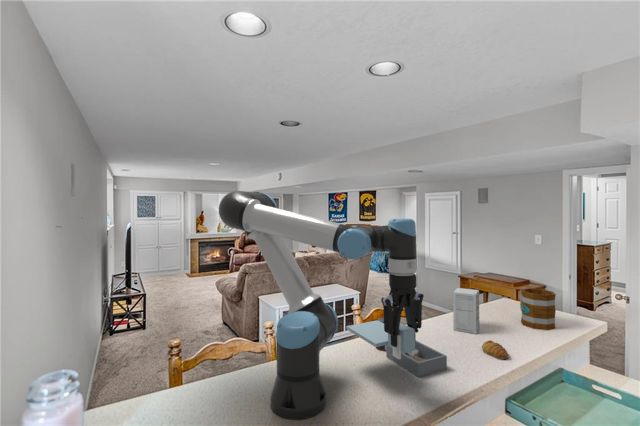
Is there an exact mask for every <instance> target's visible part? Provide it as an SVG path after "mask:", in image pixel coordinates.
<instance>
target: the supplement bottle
mask: <svg viewBox="0 0 640 426" xmlns="http://www.w3.org/2000/svg"><path fill="white" fill-rule="evenodd" d="M377 320H378V321H380V322H382V323H384V317H380V318H378V319H377ZM375 350H377V351H379V352H386V345H384V346H379V347H375Z"/></svg>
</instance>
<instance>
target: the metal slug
mask: <svg viewBox="0 0 640 426" xmlns="http://www.w3.org/2000/svg"><path fill="white" fill-rule="evenodd" d="M415 356H417V357H419V348H416V347H415V351H414V356H411V355H409V357H411V358H412V357H415Z"/></svg>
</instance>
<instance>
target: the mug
mask: <svg viewBox="0 0 640 426" xmlns="http://www.w3.org/2000/svg"><path fill="white" fill-rule="evenodd" d="M519 290H520V291H519V308H520V311H521V319H520V322H521V325H522V326H525V327H527V328H531V329H533V330H540V331H541V330H542V331H551V330H556V295H557V294H556V293H555V292H554V291H551V290H547V289H542V288H533V287H532V288H530V287H527V288H521V289H519Z"/></svg>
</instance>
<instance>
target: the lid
mask: <svg viewBox="0 0 640 426" xmlns="http://www.w3.org/2000/svg"><path fill="white" fill-rule="evenodd" d="M345 328H346V331H348V332H350V333H352V334H353V335H355V336H357V337H359V338H360V339H361V340H363V341H364V342H366V343H368V344H370V345H372V346H373V347H374V348H376V347H379V346H384V345H390V346H391V347H393V346H392V345H391V335H390V334H388V333H386V332H385V331H384V323H382V322H380V321H378V319H377V320H373V321H366V322H362V323H355V324H351V325H346V327H345ZM415 333H416V332H415V329H413V328H411V327H409V326H407V324H404V323H401V322H400V326H399V333H398V334H399V335H401V352H402V353H408V352H412V351H415Z"/></svg>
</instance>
